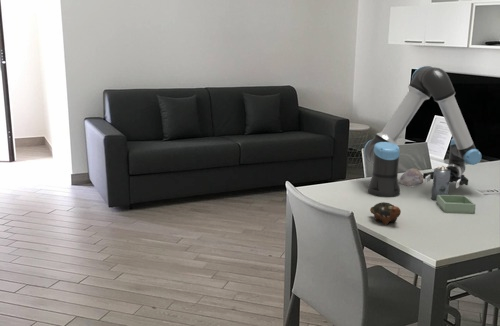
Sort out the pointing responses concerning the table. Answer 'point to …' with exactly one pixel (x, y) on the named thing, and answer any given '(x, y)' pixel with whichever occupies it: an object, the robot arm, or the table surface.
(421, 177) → the stone
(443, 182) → the can
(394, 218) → the decorative turtle
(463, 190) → the table surface
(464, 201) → the bin
